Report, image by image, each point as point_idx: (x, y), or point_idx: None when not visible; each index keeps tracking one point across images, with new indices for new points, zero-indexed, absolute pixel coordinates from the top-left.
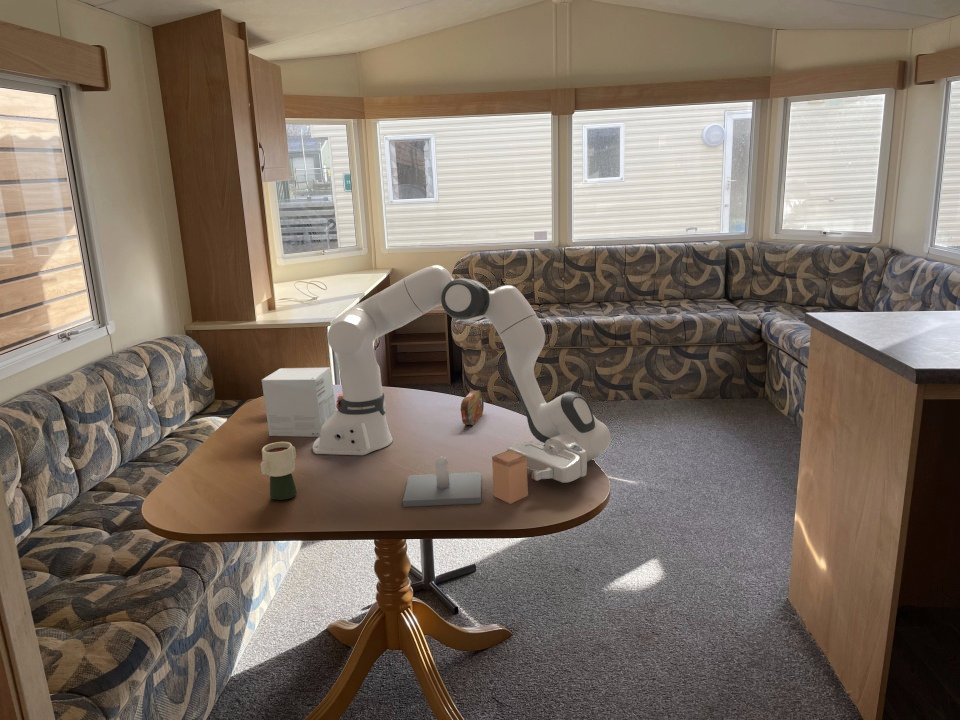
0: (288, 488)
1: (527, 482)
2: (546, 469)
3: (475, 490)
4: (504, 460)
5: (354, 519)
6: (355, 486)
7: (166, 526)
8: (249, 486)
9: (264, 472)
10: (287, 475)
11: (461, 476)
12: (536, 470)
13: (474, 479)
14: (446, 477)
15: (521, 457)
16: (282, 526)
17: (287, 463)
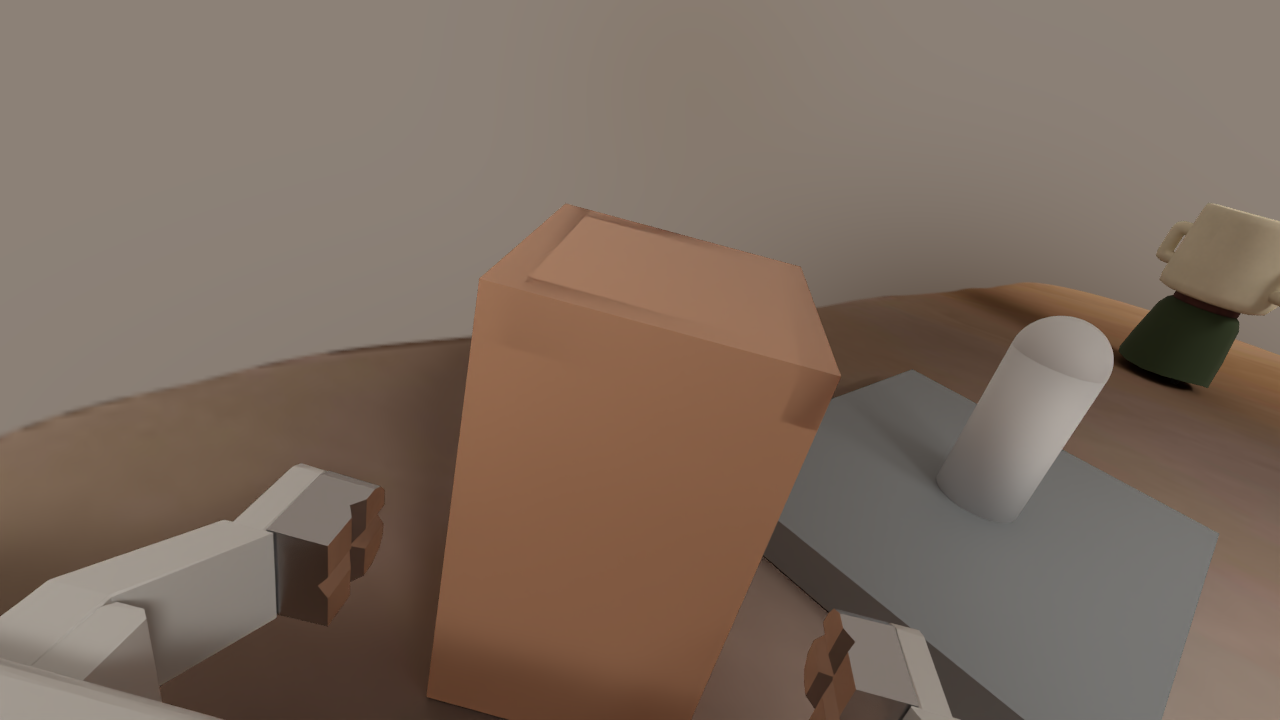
0: (1146, 331)
1: (440, 589)
2: (130, 584)
3: (794, 503)
4: (641, 229)
5: (901, 330)
6: (1188, 457)
7: (1069, 289)
8: (1271, 394)
9: (1159, 250)
10: (1186, 304)
11: (1082, 635)
12: (328, 531)
13: (975, 634)
14: (970, 429)
15: (520, 257)
16: (961, 301)
17: (1194, 252)
